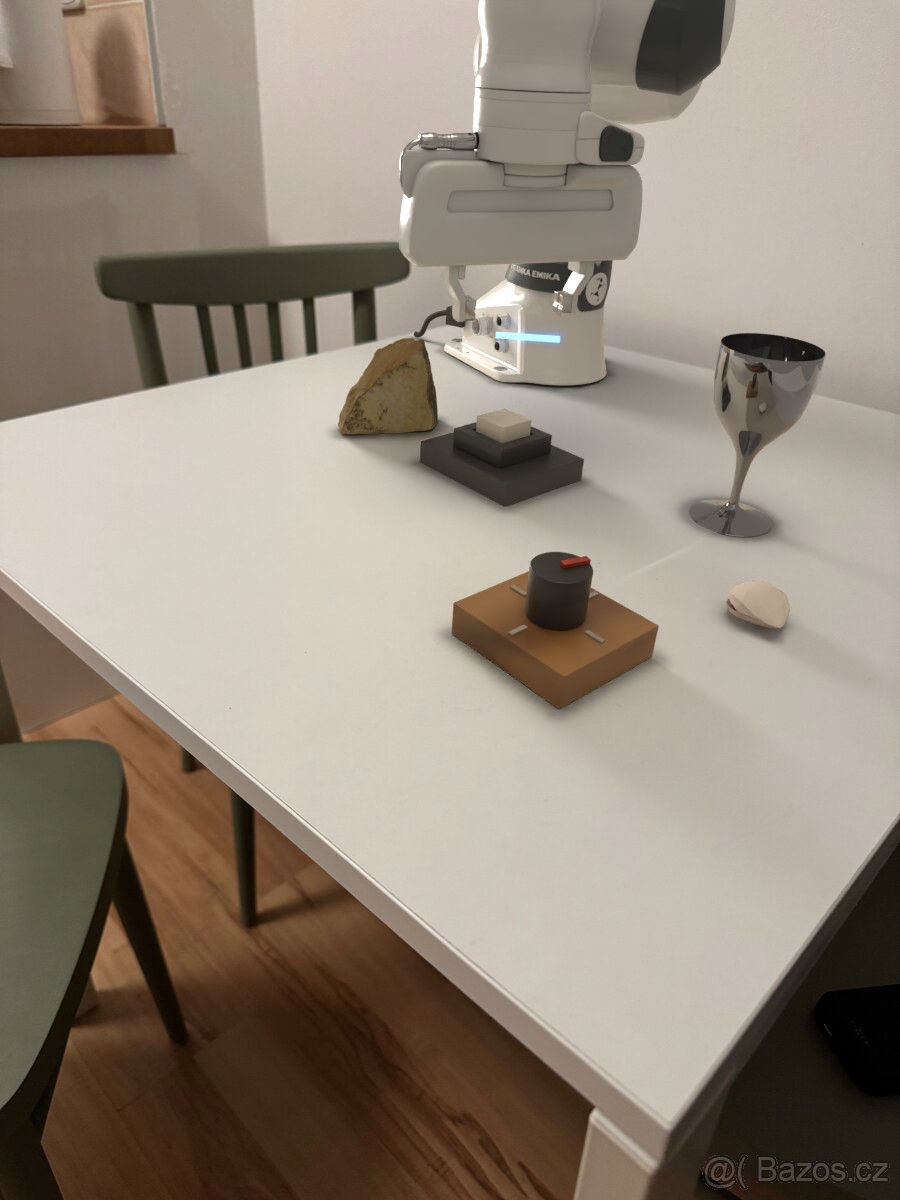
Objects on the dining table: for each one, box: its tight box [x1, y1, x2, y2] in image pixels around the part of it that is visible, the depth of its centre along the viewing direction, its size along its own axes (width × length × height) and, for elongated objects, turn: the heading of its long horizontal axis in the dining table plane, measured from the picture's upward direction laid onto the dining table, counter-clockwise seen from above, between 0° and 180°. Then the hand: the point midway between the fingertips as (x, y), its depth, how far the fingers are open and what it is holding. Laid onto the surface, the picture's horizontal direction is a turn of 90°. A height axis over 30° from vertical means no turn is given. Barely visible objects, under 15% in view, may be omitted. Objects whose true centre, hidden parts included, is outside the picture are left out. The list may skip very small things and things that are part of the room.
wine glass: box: [688, 332, 826, 538], centre depth 70 cm, size 8×8×15 cm
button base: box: [419, 421, 585, 507], centre depth 79 cm, size 12×10×4 cm
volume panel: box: [451, 570, 659, 710], centre depth 55 cm, size 10×9×3 cm
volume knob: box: [525, 551, 594, 630], centre depth 54 cm, size 4×4×4 cm
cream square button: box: [476, 408, 532, 444], centre depth 78 cm, size 4×4×2 cm
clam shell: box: [726, 580, 791, 629], centre depth 59 cm, size 4×5×2 cm
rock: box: [337, 337, 439, 435], centre depth 87 cm, size 11×9×10 cm
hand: (514, 317), depth 72 cm, fingers open, 8 cm apart
